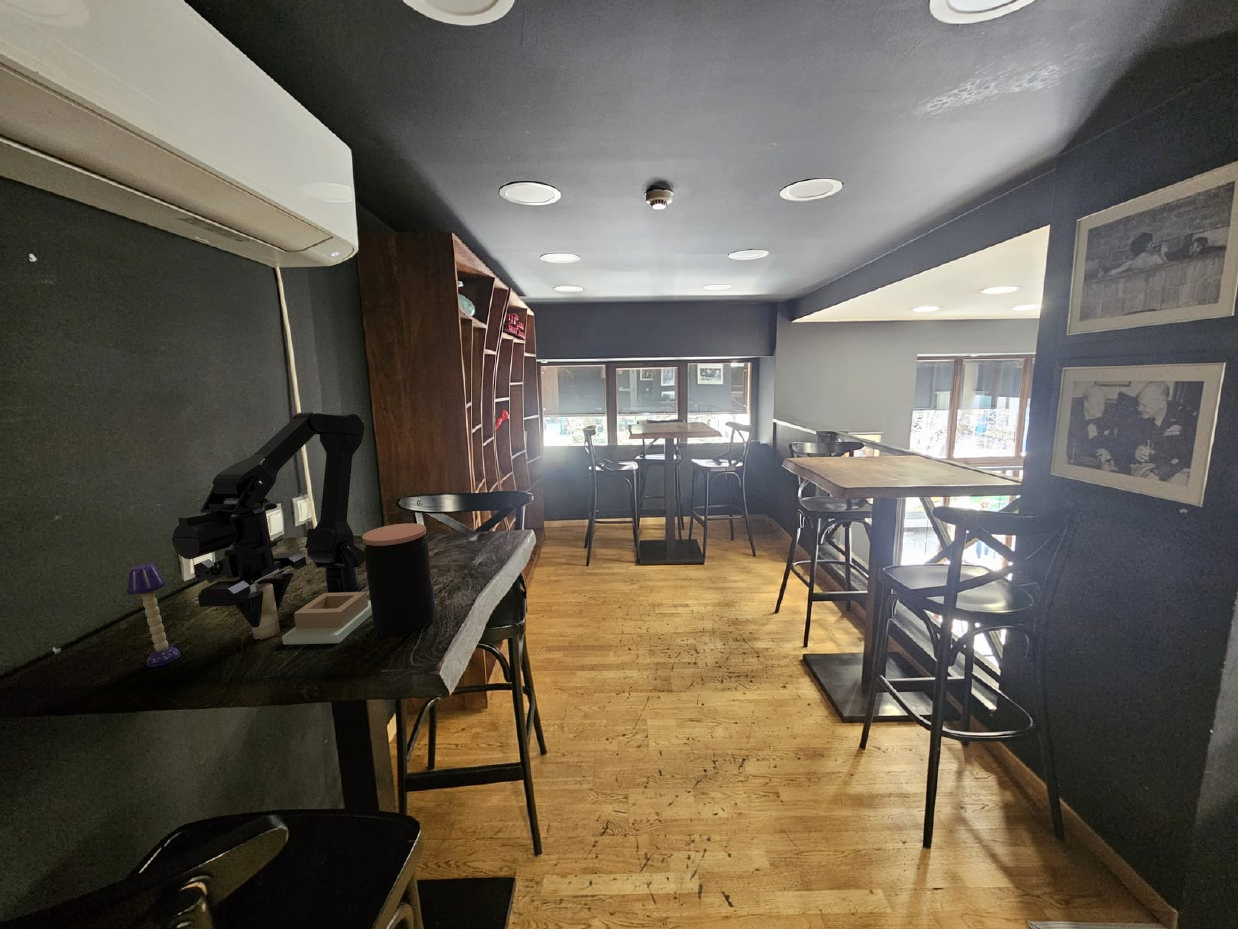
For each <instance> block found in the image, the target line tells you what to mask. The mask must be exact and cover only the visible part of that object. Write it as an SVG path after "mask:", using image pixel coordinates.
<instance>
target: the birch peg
mask: <svg viewBox="0 0 1238 929" xmlns="http://www.w3.org/2000/svg"><path fill="white" fill-rule="evenodd" d="M255 587H256V591H263V601H262V612H261V620H260V625H259V627H252V626H251V631H252V636H253V639H254V640H257V639H260V640H266V639H269V638H273V637H274V636H276V635H278V634H279V633H280V632H281V628H280V622H279V617H278V613H277V609H276V603H275V597H274V591H273V585H272V584H270V583H265V584H259V585H258V584H256V585H255ZM277 633H278V634H277ZM268 637H269V638H268ZM265 638H266V639H265Z"/></svg>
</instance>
